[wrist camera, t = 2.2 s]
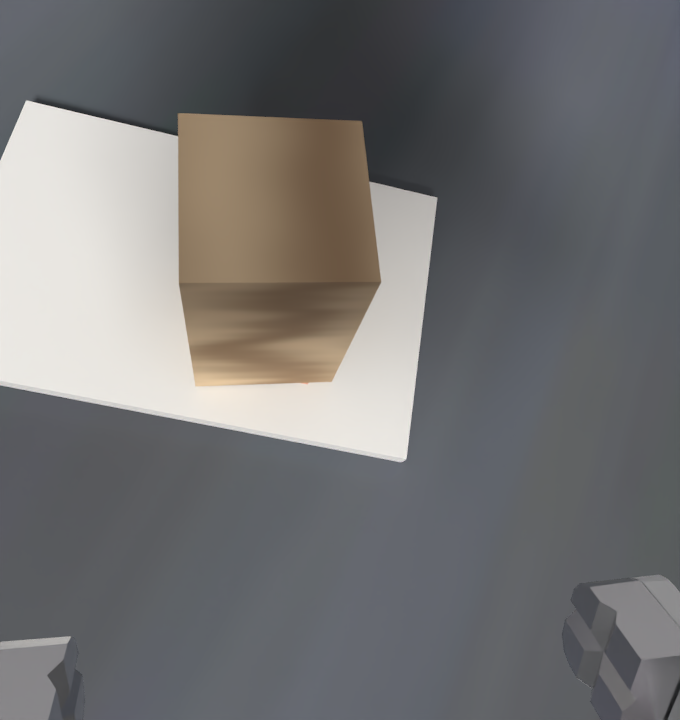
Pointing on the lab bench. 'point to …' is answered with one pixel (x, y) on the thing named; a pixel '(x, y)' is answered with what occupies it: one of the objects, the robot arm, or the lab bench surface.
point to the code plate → (177, 293)
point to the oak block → (273, 246)
